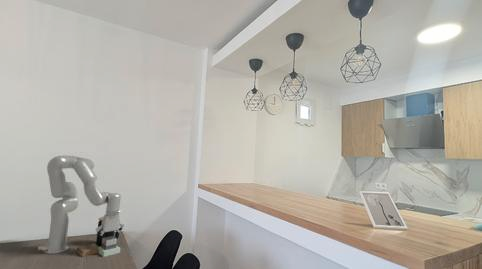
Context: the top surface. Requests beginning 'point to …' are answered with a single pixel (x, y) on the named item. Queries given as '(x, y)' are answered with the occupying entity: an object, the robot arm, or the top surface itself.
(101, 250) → the stand
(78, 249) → the stand
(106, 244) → the housing
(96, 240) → the coffee jar
